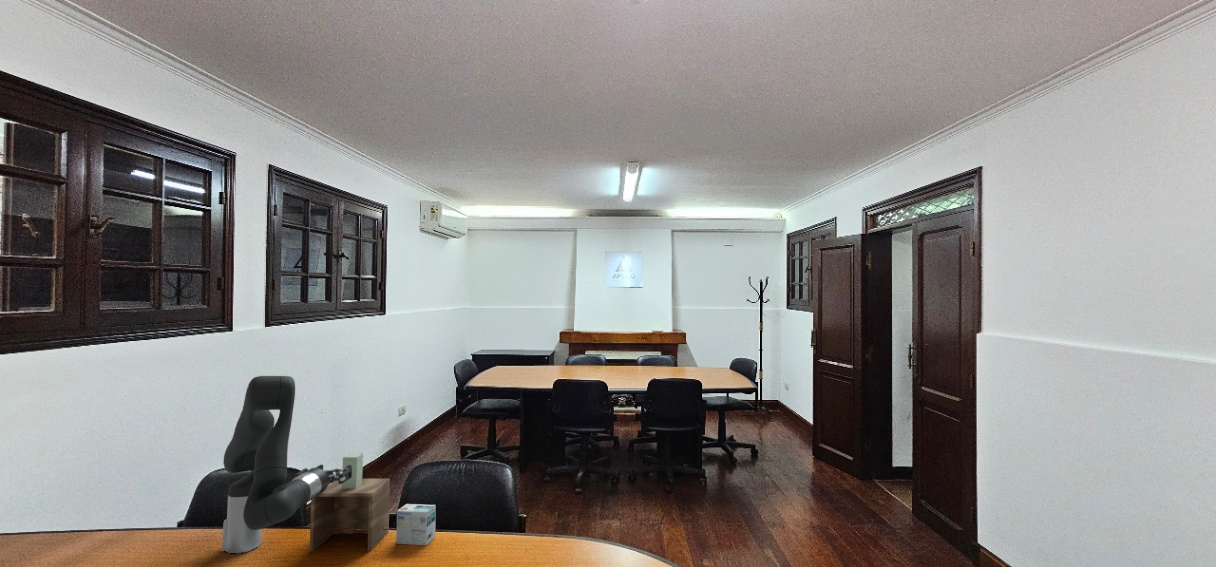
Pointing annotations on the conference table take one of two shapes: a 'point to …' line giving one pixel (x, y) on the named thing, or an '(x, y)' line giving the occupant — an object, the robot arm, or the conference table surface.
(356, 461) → the block
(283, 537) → the conference table surface
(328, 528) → the hutch
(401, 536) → the light bulb box
